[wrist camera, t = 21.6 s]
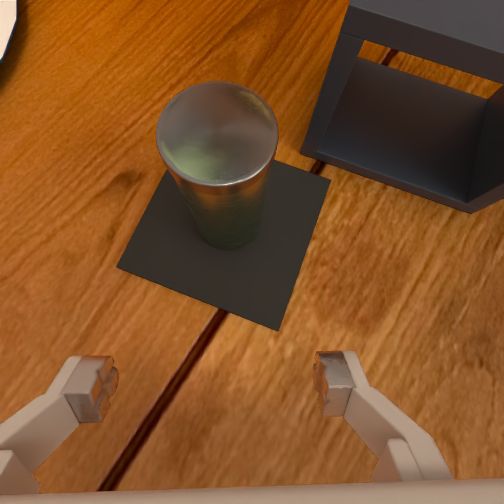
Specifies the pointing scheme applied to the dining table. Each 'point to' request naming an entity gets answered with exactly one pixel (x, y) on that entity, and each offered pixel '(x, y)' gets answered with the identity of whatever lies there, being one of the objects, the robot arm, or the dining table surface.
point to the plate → (7, 24)
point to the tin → (220, 158)
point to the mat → (230, 262)
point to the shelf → (416, 101)
